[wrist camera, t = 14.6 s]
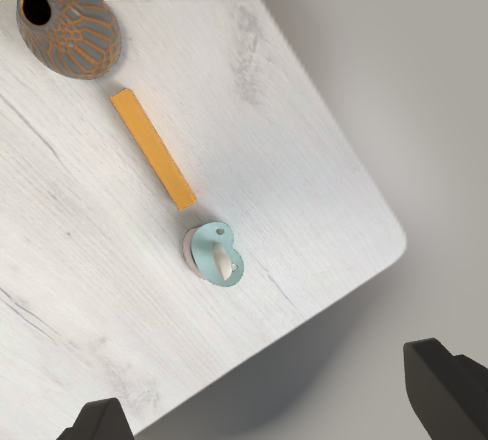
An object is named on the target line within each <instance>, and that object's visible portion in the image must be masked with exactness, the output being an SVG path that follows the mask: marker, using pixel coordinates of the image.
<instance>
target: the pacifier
mask: <svg viewBox="0 0 488 440" xmlns="http://www.w3.org/2000/svg"><path fill="white" fill-rule="evenodd" d="M219 228H221V229H223V230H224V233H223V234H218V233H217V232H216V230H217V229H219ZM233 241H234V235H233V232H232V230H231V228H230V227H229V226H228V225H227V224H225V223H222V222H209V223H206V224H204V225H202V226H201V227H196V228H193V229H191V230H189V231H188V233H187V234H186V235H185V238H184V241H183V252H184V256H185V260H186V262H187V264H188V266H189V267H190V269H191V270H192V271H193V272H194V273H195V274H196V275H197V276H198V277H200V278H202V279H204V280H208V281H209V282H211V283H213V284H215V285H218V286H222V287H229V286H233V285H234V284H236V283H237V282H239V280H240V279H241V277H242V275H243V272H244V264H243V260H242V258H241V256H240V255H239V253H238V252H237V251H236V250H235V249H233V246H232V245H233ZM191 248H192V252H191ZM192 254H193V255H192ZM193 257H194V258H193ZM232 264H236V266H237V269H236V270H235V271H232Z"/></svg>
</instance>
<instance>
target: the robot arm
mask: <svg viewBox="0 0 488 440" xmlns="http://www.w3.org/2000/svg"><path fill="white" fill-rule="evenodd" d="M403 351H404V367H405V382H406V391H407V394H408V398H409V401H410V403H411V405H412V408H413V410H414V412H415V413H416V415H417V416H418V418H419V420H420V421H421V423H422V424H423V426H424V428H425V429H426V431H427V432H428V434H429V435H430V437H431V439H432V440H488V369H487V368H486V367H484V366H482V365H480V364H479V363H477V362H475V361H473V360H472V359H470V358H468V357H466V356H465V355H463V354H462V355H457V356H453V355H452V354H451V353H449V351H448V350H447V349H446V348H445V347H444V346H443V345H442V344H441V343H440V342H439V341H438V340H437V339H435V338H429V339H424V340H419V341H414V342H409V343H405V344H404V347H403ZM56 440H134V437H133V434H132V432H131V429H130V427H129V424H128V422H127V419H126V417H125V414H124V412H123V409H122V407H121V404H120V402H119V400H118V399H117V398H109V399H104V400H98V401H93V402H88V403H86V404H85V405H84V406H83V408H82V410H81V412H80V413H79V415H78V417H77V419H76V421H75V423H74V425H73V427H70V428H66V429H65V430H64V431H63V433H62V434H61V435H60V436H59V437H58V438H57V439H56Z"/></svg>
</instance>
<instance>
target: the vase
mask: <svg viewBox="0 0 488 440" xmlns="http://www.w3.org/2000/svg"><path fill="white" fill-rule="evenodd" d="M16 16H17V24H18V28H19V31H20V34H21V36H22V38H23V40H24V42H25V43H26V45H27V47H28V48H29V49H30V51H31V52H32V53H33V54H34V55H35V56H36V57H37V58H38V59H39V60H40V61H41V62H42V63H43V64H44V65H45V66H47V67H48V68H50V69H51V70H53V71H55V72H56V73H59V74H61V75H63V76H66V77H70V78H74V79H81V80H88V79H94V78H98V77H100V76H102V75H104V74H106V73H107V72H109V71H110V70H111V69H112V68H113V67H114V65H115V64H116V62H117V60H118V58H119V55H120V51H121V33H120V29H119V26H118V23H117V20H116V18H115V16H114V14H113V12H112V11H111V9H110V8H109V7H108V5H107V4H106V3H105V2H104V0H18V1H17V9H16Z"/></svg>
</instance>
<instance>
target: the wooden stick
mask: <svg viewBox="0 0 488 440" xmlns="http://www.w3.org/2000/svg"><path fill="white" fill-rule="evenodd" d="M110 100H111V102H112V103H113V105H114V107H115V108H116V110H117V112H118V113H119V115H120V116H121V118H122V120H123V121H124V123H125V124H126V126H127V128H128V129H129V131H130V132H131V134H132V136H133V137H134V139H135V140H136V142H137V144H138V145H139V147H140V148H141V150H142V152H143V153H144V155H145V156H146V158H147V160H148V161H149V163H150V164H151V166H152V168H153V169H154V171H155V172H156V174H157V176H158V177H159V179H160V180H161V182H162V184H163V185H164V187H165V188H166V190H167V192H168V193H169V195H170V196H171V198H172V200H173V201H174V203H175V204H176V206H177V208H178V209H179V210H181V209H183V208H185V207H187V206H189V205H191V204H192V203H194V202H195V200H196V197H195V195H194V194H193V192H192V190H191V189H190V187H189V185H188V184H187V182H186V180H185V179H184V177H183V175H182V174H181V172H180V170H179V169H178V167H177V165H176V164H175V162H174V160H173V159H172V157H171V155H170V154H169V152H168V150H167V149H166V147H165V145H164V144H163V142H162V140H161V139H160V137H159V135H158V134H157V132H156V130H155V129H154V127H153V125H152V124H151V122H150V120H149V119H148V117H147V115H146V114H145V112H144V110H143V109H142V107H141V105H140V104H139V102H138V100H137V99H136V97H135V95H134V94H133V92H132V91H131V90H129V89H126V88H125V89H123V90H122V91H120V92H118V93H117V94H115V95H113V96H112V97H110Z"/></svg>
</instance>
